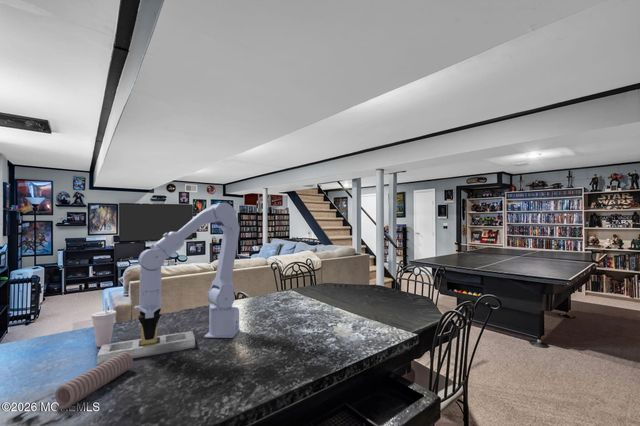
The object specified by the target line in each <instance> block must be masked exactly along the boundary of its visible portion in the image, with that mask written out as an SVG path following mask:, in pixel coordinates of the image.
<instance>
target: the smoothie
mask: <svg viewBox="0 0 640 426" xmlns="http://www.w3.org/2000/svg"><path fill="white" fill-rule="evenodd" d="M104 301H105V302H104V310H100V311H97V312H94V313H92V314H91V317H90V318H91V320H92V325H93V332H94V334H93V335H94V341H95V346H96V348H101V346H102V345H104V344H111V343H112V337H113V330H114V325H115V324H114V323H115V319H116V316H117V311H116V310H113V309H111V310H109V309H108V298H106V297H105V299H104Z"/></svg>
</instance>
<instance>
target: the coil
mask: <svg viewBox="0 0 640 426" xmlns="http://www.w3.org/2000/svg"><path fill="white" fill-rule="evenodd" d="M133 359H134V358H132V356H131V355H130V354H129V353H127V352H122V353H120V354H118V355H117V356H114V357H113V358H111V359H109V360H107V361H105V362H104V363H102V364H99V365H97V366H94V367H92V368H91V369H89V370H87V371H85V372H83V373H81V374H79V375H78V376H77V377H75V378H72V379H71V380H68V381H67V382H65V383H63V384H61V385H59V386H58V388H57V389H56V390H55V394H54V395H55V397H54V398H55V400H56V402H57V404H58V405H57V407H56V409H57V410H59V409H64V410H67V409H69V408H71V407H73V406H74V405H75V404H77V403H79V402H80V401H81V400H83V399H85V398H87V397H88V396H90V395H91V394H92V393H94V392H96V391H97V390H99V389H100V388H102V387H103V386H105V385H107V384H108V383H110V382H111V381H113V380H115V379H116V378H118V377H120V376H121V375H123V374H124V373H126V372H127V371H128V370H130V369H131V368H132V366H133V363H134V360H133Z"/></svg>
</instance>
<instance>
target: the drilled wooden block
mask: <svg viewBox="0 0 640 426" xmlns="http://www.w3.org/2000/svg"><path fill="white" fill-rule="evenodd" d="M158 327H161V320H158V323H157V326H156V330H155V335H154V339H150V340H145V337H144V332H143V327H142V325H141V323H138V326H137V329H138V330H140V339H141V346H146V345H152V344H157V336H158Z"/></svg>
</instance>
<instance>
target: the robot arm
mask: <svg viewBox="0 0 640 426" xmlns="http://www.w3.org/2000/svg"><path fill="white" fill-rule="evenodd" d="M211 223H213V224H215V225H217V226H218V227H219V229H220V230H221V231H222V239H221V245H220V250H219V254H218V255H219V257H218V260H217V261H218V263H217V268H216V273H215V278H214V279H213V280H212V282H211V285H210V288H209V290H208V291H207V293H206V298H207V301H208V302H209V303H210V305H209V307H208V308H209V309H208V310H209V315H208V319H209V320H208V321H209V322H208V323H209V325H208V326H209V327H208V330H209V331H208V332H207V333H206V334H204V336H203V337H204V338H206V339H207V338H213V339H214V338H215V339H216V338H217V339H220V338H224V339H228V338H229V339H231V338H234V337H235V336H236V335H237V334H238V332H240V309H239V307H237V306H236V307H234V306H233V304H234V302H235V298H236V297H235V293H234V292H235V291H234V288H235V285H234V282H233V280H232V278H233V272H234V268H235V267H234V266H235V265H234V264H235V260H236V254H237V248H238V242H239V236H240V231H241V229H240V228H241V227H240V224H239V221H238V218H237V211H236V209H235V208H234V207H233V206H232V205H231V204H230V203H227V202H220V203H216V204H214V203H213V204H210V205H209V206H208V207H206V208H205V209H202V211H200V212H199V213H198V214H196V215H195V216H194V217H192V218H191V219H190V221H188V222H187V223H186V224H185V225H183V226H182V227H181V228H180V229H179V230H177V231H169V232H165V233H164V234H162V238H161V239H159V240H158V241H156V242H155V243H154V244H153V243H151V244H150V245H149V249H146V250H143V251H142V252H141V253H140V254H139V257H138V259H137V263H138V264H139V266H140V269H139V272H140V274H139V284H138V285H139V286H138V287H139V288H138V289H139V290H138V291H139V292H138V293H139V295H138V301H139V302H138V305H134V306H133V309H134V310H135V311H137V310H138V311H139V314H140V315H138V321H139V322H140V323H141V325H142V327H143V332H144V337H145V340H150V339H154V335H155V330H156V326H157V323H158V321H160V318H161V316H162V313H161V310H162V306H163V305H162V266H164V263H165V261H166V259H168V258H170V257H171V256H173V254H175V253H176V252H177V251H178V250H180V249H181V248H182V247H183V246H184V244H185V240H186V239H187V238H188V237H190V235H192V234H193V233H195V232H196V231H197V230H199V229H201V228H202V227H203V226H204V225H206V224H211Z"/></svg>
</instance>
